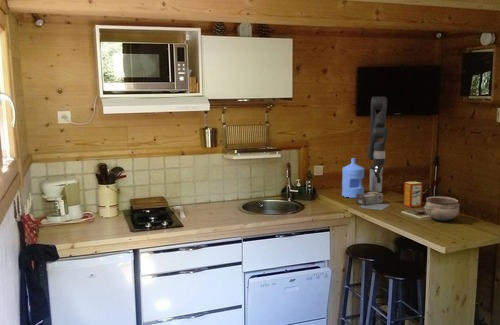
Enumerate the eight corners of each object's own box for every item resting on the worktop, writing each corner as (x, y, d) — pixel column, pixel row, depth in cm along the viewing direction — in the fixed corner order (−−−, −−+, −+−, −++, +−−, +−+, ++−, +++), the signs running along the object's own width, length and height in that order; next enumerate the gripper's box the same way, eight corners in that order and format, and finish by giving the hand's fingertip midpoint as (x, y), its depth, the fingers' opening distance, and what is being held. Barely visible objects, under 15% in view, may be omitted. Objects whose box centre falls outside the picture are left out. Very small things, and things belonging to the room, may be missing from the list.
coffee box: (373, 200, 327) (355, 203, 320) (373, 191, 326) (355, 193, 319) (382, 203, 319) (364, 205, 312) (383, 193, 318) (365, 196, 311)
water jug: (337, 196, 343) (338, 158, 339) (350, 193, 353) (350, 156, 349) (355, 199, 332) (356, 160, 327) (368, 196, 342) (368, 158, 338)
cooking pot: (434, 226, 264) (435, 205, 262) (413, 218, 281) (413, 198, 280) (470, 221, 272) (471, 201, 270) (446, 214, 289) (447, 194, 288)
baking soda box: (414, 204, 316) (415, 180, 314) (421, 206, 310) (422, 182, 308) (403, 205, 313) (404, 182, 310) (410, 207, 307) (411, 183, 304)
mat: (367, 202, 322) (367, 202, 322) (390, 205, 313) (390, 204, 313) (358, 207, 309) (358, 206, 309) (381, 210, 300) (381, 210, 300)
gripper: (377, 155, 320) (376, 180, 323) (370, 158, 309) (369, 184, 312) (388, 156, 316) (387, 181, 318) (381, 159, 305) (380, 185, 308)
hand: (378, 182), depth 315 cm, fingers closed
